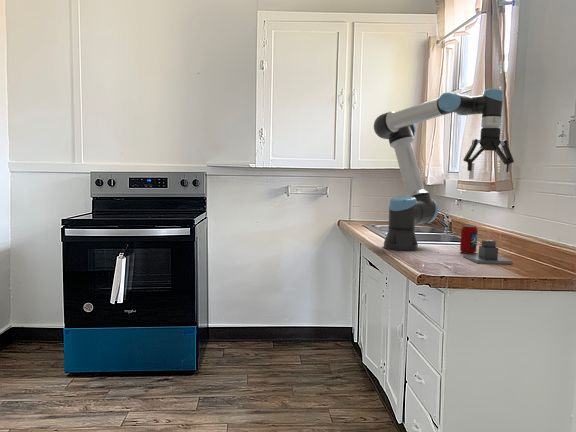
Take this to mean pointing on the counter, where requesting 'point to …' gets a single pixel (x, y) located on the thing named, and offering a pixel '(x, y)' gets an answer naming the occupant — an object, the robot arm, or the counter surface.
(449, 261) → the counter surface
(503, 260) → the hub
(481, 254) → the knob
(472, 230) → the beverage can
